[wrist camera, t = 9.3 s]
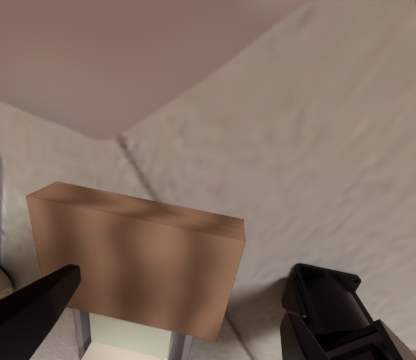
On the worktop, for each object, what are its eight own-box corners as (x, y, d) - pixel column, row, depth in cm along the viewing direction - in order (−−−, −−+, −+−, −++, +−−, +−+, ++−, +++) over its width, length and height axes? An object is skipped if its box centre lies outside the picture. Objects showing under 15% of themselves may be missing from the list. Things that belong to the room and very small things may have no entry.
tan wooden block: (243, 219, 21) (245, 241, 18) (218, 311, 26) (216, 341, 23) (56, 181, 22) (25, 196, 18) (69, 278, 27) (47, 302, 24)
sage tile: (176, 311, 26) (171, 331, 24) (172, 337, 28) (167, 359, 26) (101, 293, 26) (89, 312, 24) (102, 321, 29) (91, 341, 26)
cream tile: (159, 390, 23) (158, 402, 24) (172, 338, 28) (171, 349, 29) (75, 370, 24) (76, 381, 24) (103, 321, 29) (103, 333, 30)
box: (197, 308, 26) (193, 332, 24) (184, 371, 32) (179, 397, 29) (89, 283, 27) (72, 304, 24) (94, 349, 32) (81, 373, 30)
